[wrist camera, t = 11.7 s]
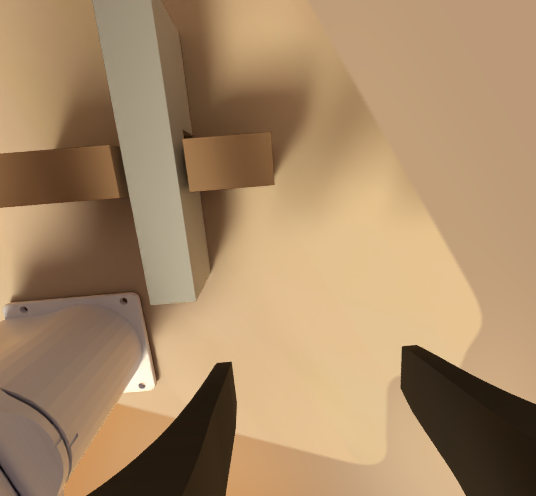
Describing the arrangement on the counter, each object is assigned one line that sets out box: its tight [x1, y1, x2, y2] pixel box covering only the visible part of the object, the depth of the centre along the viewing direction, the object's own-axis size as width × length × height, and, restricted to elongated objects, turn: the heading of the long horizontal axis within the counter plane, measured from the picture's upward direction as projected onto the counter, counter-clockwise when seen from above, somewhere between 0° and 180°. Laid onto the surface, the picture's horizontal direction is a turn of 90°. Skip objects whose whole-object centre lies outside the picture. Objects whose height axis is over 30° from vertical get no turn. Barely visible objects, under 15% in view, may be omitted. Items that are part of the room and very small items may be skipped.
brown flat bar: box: [0, 132, 275, 208], centre depth 16 cm, size 14×2×5 cm, turn 95°
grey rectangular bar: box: [92, 0, 211, 305], centre depth 16 cm, size 15×2×5 cm, turn 5°
